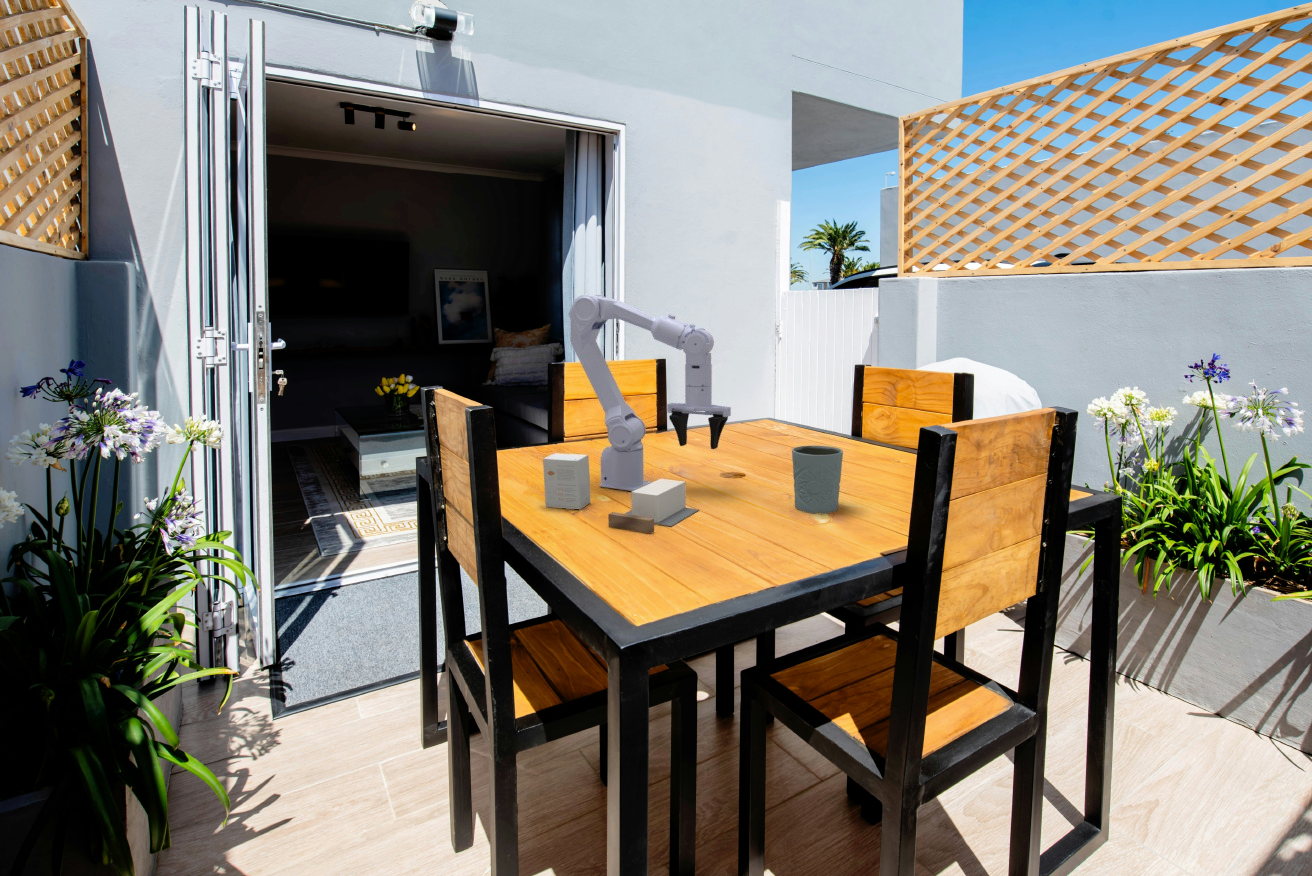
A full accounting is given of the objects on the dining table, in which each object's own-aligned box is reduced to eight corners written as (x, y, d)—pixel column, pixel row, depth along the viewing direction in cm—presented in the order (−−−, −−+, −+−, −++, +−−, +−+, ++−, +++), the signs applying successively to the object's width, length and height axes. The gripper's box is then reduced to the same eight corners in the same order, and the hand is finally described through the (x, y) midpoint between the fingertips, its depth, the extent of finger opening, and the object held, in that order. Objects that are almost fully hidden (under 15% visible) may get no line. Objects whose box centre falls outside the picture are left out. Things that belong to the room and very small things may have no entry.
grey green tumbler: (812, 517, 138) (814, 457, 136) (780, 504, 147) (781, 447, 145) (851, 509, 143) (854, 451, 140) (818, 497, 151) (820, 442, 149)
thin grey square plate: (616, 518, 139) (616, 517, 139) (647, 502, 149) (647, 502, 149) (670, 527, 133) (670, 525, 133) (699, 510, 143) (699, 509, 143)
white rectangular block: (631, 519, 138) (631, 491, 137) (661, 504, 148) (660, 478, 147) (657, 524, 135) (657, 495, 134) (685, 508, 145) (685, 481, 144)
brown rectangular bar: (608, 526, 134) (608, 513, 133) (613, 524, 135) (612, 511, 134) (650, 533, 129) (649, 520, 129) (654, 531, 131) (653, 518, 130)
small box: (591, 503, 150) (589, 454, 148) (579, 510, 144) (578, 460, 142) (557, 500, 152) (555, 452, 150) (544, 507, 147) (542, 457, 145)
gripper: (660, 385, 154) (661, 447, 157) (721, 389, 147) (721, 453, 150) (675, 382, 160) (675, 441, 163) (734, 385, 153) (734, 447, 156)
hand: (698, 446), depth 157 cm, fingers open, 7 cm apart
